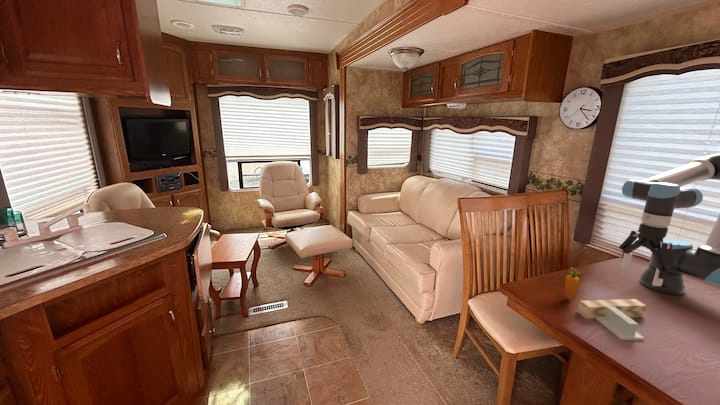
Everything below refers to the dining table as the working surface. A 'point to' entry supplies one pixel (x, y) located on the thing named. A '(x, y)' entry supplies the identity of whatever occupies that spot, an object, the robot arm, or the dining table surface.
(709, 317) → the dining table surface
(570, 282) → the carrot
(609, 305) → the birch bar
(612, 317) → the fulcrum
